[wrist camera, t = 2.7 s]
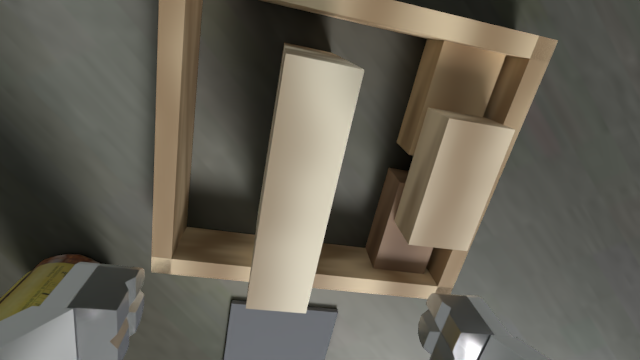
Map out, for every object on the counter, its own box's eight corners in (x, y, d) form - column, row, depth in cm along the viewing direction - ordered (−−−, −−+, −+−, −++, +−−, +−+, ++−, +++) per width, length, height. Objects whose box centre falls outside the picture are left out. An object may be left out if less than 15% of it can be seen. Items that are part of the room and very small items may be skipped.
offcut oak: (480, 51, 24) (506, 54, 21) (445, 149, 26) (464, 164, 24) (424, 39, 23) (444, 40, 20) (395, 141, 26) (408, 154, 23)
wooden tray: (514, 38, 23) (558, 40, 20) (427, 267, 30) (447, 300, 26) (182, -42, 20) (160, -58, 16) (169, 238, 27) (151, 272, 23)
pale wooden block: (331, 52, 23) (364, 69, 13) (297, 216, 27) (305, 313, 18) (284, 42, 22) (285, 53, 13) (258, 211, 26) (245, 308, 17)
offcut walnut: (437, 174, 27) (454, 190, 24) (410, 251, 30) (423, 274, 27) (387, 166, 26) (399, 182, 24) (364, 245, 29) (373, 268, 26)
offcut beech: (486, 117, 22) (515, 129, 20) (446, 227, 25) (467, 251, 23) (427, 107, 22) (449, 118, 19) (394, 220, 25) (408, 244, 22)
